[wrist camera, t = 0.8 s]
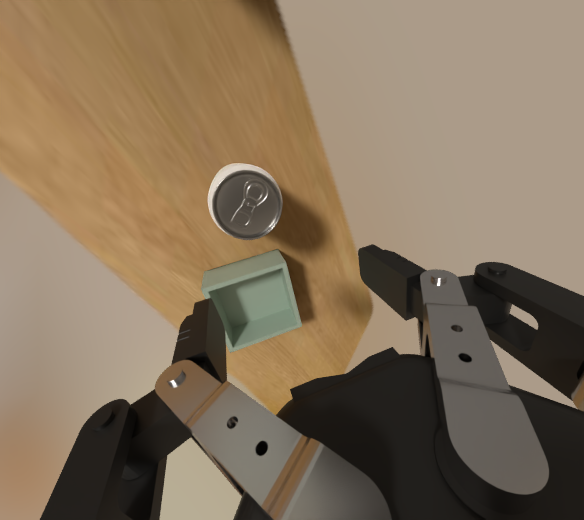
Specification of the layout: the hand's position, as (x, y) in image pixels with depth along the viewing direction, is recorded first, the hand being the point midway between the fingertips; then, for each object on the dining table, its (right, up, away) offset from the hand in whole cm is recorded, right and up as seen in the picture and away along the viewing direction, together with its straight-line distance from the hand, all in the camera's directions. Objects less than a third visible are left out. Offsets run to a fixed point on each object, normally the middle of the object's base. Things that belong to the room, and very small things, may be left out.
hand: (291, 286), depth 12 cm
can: (-7, +10, +18) cm, 21 cm away
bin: (-6, -3, +23) cm, 24 cm away
